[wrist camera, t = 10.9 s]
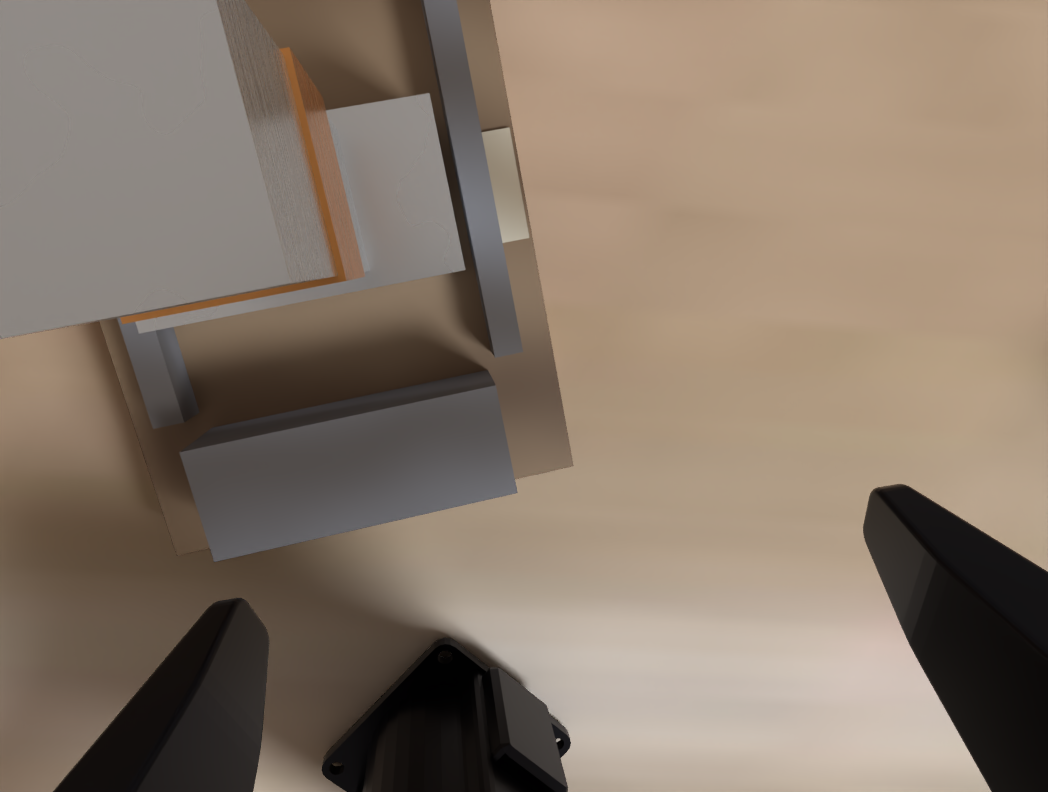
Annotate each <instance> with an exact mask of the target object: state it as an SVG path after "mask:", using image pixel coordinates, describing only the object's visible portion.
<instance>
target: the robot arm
mask: <svg viewBox="0 0 1048 792" xmlns="http://www.w3.org/2000/svg"><path fill="white" fill-rule="evenodd" d="M863 533H864V538H865V542H866V545H867V547H868V549H869V552H870V554H871V556H872V559H873V561H874V563H875V566H876V568H877V571H878V573H879V575H880V578H881V580H882V582H883V585H884V587H885V589H886V592H887V594H888V596H889V599H890V601H891V603H892V606H893V608H894V610H895V613H896V615H897V618H898V620H899V622H900V625H901V627H902V629H903V631H904V634H905V636H906V638H907V640H908V642H909V644H910V646H911V648H912V650H913V652H914V654H915V656H916V658H917V660H918V661H919V663H920V665H921V667H922V669H923V670H924V672H925V674H926V676H927V678H928V679H929V681H930V683H931V685H932V686H933V688H934V690H935V692H936V694H937V695H938V697H939V699H940V701H941V702H942V704H943V706H944V708H945V710H946V711H947V713H948V715H949V717H950V718H951V720H952V722H953V724H954V726H955V727H956V729H957V731H958V733H959V735H960V736H961V738H962V740H963V742H964V743H965V745H966V747H967V749H968V751H969V752H970V754H971V756H972V758H973V759H974V761H975V763H976V765H977V767H978V768H979V770H980V772H981V774H982V775H983V777H984V779H985V781H986V783H987V784H988V786H989V788H990V790H991V791H992V792H1048V572H1047V571H1046V570H1044V569H1043V568H1041V567H1039V566H1038V565H1036V564H1034V563H1033V562H1031V561H1030V560H1028V559H1026V558H1025V557H1023V556H1021V555H1020V554H1018V553H1017V552H1015V551H1013V550H1012V549H1010V548H1008V547H1007V546H1005V545H1004V544H1002V543H1000V542H999V541H997V540H995V539H994V538H992V537H991V536H989V535H987V534H986V533H984V532H982V531H981V530H979V529H978V528H976V527H974V526H973V525H971V524H969V523H968V522H966V521H965V520H963V519H961V518H960V517H958V516H956V515H955V514H953V513H952V512H950V511H948V510H947V509H945V508H943V507H942V506H940V505H939V504H937V503H935V502H934V501H932V500H930V499H929V498H927V497H926V496H924V495H922V494H921V493H919V492H917V491H916V490H914V489H913V488H911V487H909V486H906V485H903V484H896V485H890V486H884V487H878V488H875V489H874V490H873V491H872V492H871V493H870V496H869V501H868V506H867V511H866V515H865V520H864V525H863ZM442 651H449V652H451V655H450V656H448V657H441V656H440V655H439V653H441V652H442ZM268 653H269V636H268V632H267V629H266V627H265V626H264V624H263V623H262V622H261V620H260V619H259V618H258V616H257V615H256V613H255V612H254V611H253V609H252V608H251V606H250V605H249V604H248V602H247V601H246V600H244V599H242V598H234V599H229V600H223V601H218V602H215V603H213V604H212V605H211V606H210V607H209V608H208V609H207V610H206V611H205V612H204V613H203V615H202V616H201V617H200V618H199V619H198V621H197V622H196V623H195V624H194V625H193V627H192V628H191V629H190V630H189V631H188V632H187V634H186V635H185V636H184V637H183V638H182V640H181V641H180V642H179V643H178V644H177V645H176V647H175V648H174V649H173V650H172V651H171V653H170V654H169V655H168V656H167V657H166V658H165V660H164V661H163V662H162V663H161V664H160V666H159V667H158V668H157V669H156V670H155V671H154V673H153V674H152V675H151V676H150V677H149V679H148V680H147V681H146V682H145V683H144V684H143V686H142V687H141V688H140V689H139V690H138V692H137V693H136V694H135V695H134V696H133V698H132V699H131V700H130V701H129V702H128V703H127V705H126V706H125V707H124V708H123V709H122V711H121V712H120V713H119V714H118V715H117V716H116V718H115V719H114V720H113V721H112V722H111V724H110V725H109V726H108V727H107V728H106V729H105V731H104V732H103V733H102V734H101V735H100V737H99V738H98V739H97V740H96V741H95V742H94V744H93V745H92V746H91V747H90V748H89V750H88V751H87V752H86V753H85V754H84V756H83V757H82V758H81V759H80V760H79V761H78V763H77V764H76V765H75V766H74V767H73V769H72V770H71V771H70V772H69V773H68V774H67V776H66V777H65V778H64V779H63V780H62V782H61V783H60V784H59V785H58V786H57V787H56V789H55V790H54V791H53V792H253V789H254V784H255V778H256V773H257V767H258V761H259V755H260V749H261V740H262V730H263V717H264V705H265V692H266V679H267V666H268ZM555 738H560V739H561V740H560V741H559V742H557V743H556V739H555ZM570 744H571V742H570V738H569V734H568V731H567V729H566V728H565V727H564V726H562V725H561V724H560V723H559V722H557V721H556V720H555V719H554V718H552V717H551V716H550V715H549V712H548V708H547V706H546V705H545V704H544V703H543V702H542V701H540V700H539V699H538V698H537V697H535V696H534V695H533V694H532V693H530V692H529V691H528V690H527V689H525V688H524V687H523V686H522V685H520V684H519V683H518V682H516V681H515V680H514V679H513V678H511V677H510V676H509V675H508V674H506V673H505V672H504V671H503V670H501V669H500V668H495V667H490V668H489V667H488V666H486V665H485V664H484V663H483V662H481V661H480V660H479V659H478V658H476V657H475V656H474V655H472V654H471V653H470V652H469V651H467V650H466V649H465V648H464V647H462V646H461V645H460V644H459V643H457V642H456V641H455V640H453V639H451V638H442V639H439V640H437V641H436V642H434V643H433V644H432V645H431V646H430V648H429V649H428V650H427V651H426V652H425V653H424V654H423V655H422V656H421V657H420V658H419V659H418V660H417V661H416V662H415V663H414V664H413V665H412V666H411V667H410V668H409V669H408V670H407V671H406V672H405V673H404V674H403V675H402V676H401V677H400V678H399V679H398V680H397V681H396V682H395V683H394V684H393V685H392V686H391V687H390V689H389V690H388V691H387V692H386V693H385V694H384V695H383V696H382V697H381V698H380V699H379V700H378V701H377V702H376V703H375V704H374V705H373V706H372V707H371V708H370V709H369V710H368V711H367V712H366V713H365V714H364V715H363V716H362V717H361V718H360V719H359V720H358V721H357V722H356V723H355V724H354V725H353V726H352V727H351V728H350V729H349V731H348V732H347V733H346V734H345V735H344V736H343V737H342V738H341V739H340V740H339V741H338V742H337V743H336V744H335V745H334V746H333V747H332V748H331V749H330V750H329V751H328V752H327V753H326V755H325V756H324V761H323V765H322V772H323V775H324V776H325V777H326V778H327V779H329V780H330V781H332V782H333V783H334V784H336V785H337V786H339V787H340V788H342V789H343V790H345V791H346V792H568V786H567V782H566V778H565V774H564V770H563V767H562V763H561V759H560V758H561V757H562V756H563V755H564V754H565V753H566V752H567V751H568V749H569V748H570ZM334 762H340V763H342V764H343V765H341V766H334V765H333V764H332V763H334Z"/></svg>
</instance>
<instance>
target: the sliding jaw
mask: <svg viewBox="0 0 1048 792" xmlns="http://www.w3.org/2000/svg"><path fill="white" fill-rule="evenodd" d="M463 270H465V265H464V260H463V255H462V250H461V245H460V241H459V236H458V231H457V226H456V221H455V216H454V211H453V206H452V201H451V196H450V191H449V187H448V182H447V177H446V172H445V167H444V162H443V157H442V152H441V147H440V142H439V138H438V133H437V128H436V123H435V118H434V113H433V108H432V103H431V98H430V93H426V94H421V95H415V96H409V97H403V98H397V99H391V100H385V101H379V102H373V103H367V104H361V105H355V106H349V107H343V108H338V109H332V110H326V109H325V105H324V101H323V97H322V95H321V94H320V92H319V91H318V89H317V88H316V86H315V85H314V83H313V82H312V80H311V79H310V77H309V76H308V74H307V73H306V71H305V70H304V68H303V67H302V65H301V64H300V62H299V61H298V59H297V58H296V56H295V55H294V53H293V52H292V50H291V49H290V47H287V48H281V49H279V48H278V46H277V45H276V43H275V42H274V41H273V39H272V38H271V37H270V35H269V34H268V32H267V31H266V30H265V28H264V27H263V25H262V24H261V23H260V21H259V20H258V18H257V17H256V16H255V14H254V13H253V11H252V10H251V9H250V7H249V6H248V5H247V3H246V2H245V0H0V339H4V338H10V337H15V336H21V335H27V334H32V333H38V332H43V331H49V330H54V329H60V328H65V327H71V326H76V325H82V324H88V323H93V322H99V321H104V320H110V319H115V318H120V319H121V322H122V324H126V323H131V322H135V323H136V326H137V329H138V332H139V334H140V333H145V332H150V331H155V330H160V329H165V328H171V327H176V326H181V325H186V324H191V323H196V322H201V321H207V320H212V319H217V318H222V317H227V316H232V315H237V314H242V313H248V312H253V311H258V310H263V309H268V308H273V307H278V306H284V305H289V304H294V303H299V302H304V301H309V300H314V299H319V298H325V297H330V296H335V295H340V294H345V293H350V292H355V291H361V290H366V289H371V288H376V287H381V286H386V285H391V284H396V283H402V282H407V281H412V280H417V279H422V278H427V277H432V276H438V275H443V274H448V273H453V272H458V271H463Z"/></svg>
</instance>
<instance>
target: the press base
mask: <svg viewBox="0 0 1048 792" xmlns="http://www.w3.org/2000/svg"><path fill="white" fill-rule="evenodd" d="M245 2H246V3H247V5H248V6H249V7H250V9H251V10H252V11H253V13H254V14H255V16H256V17H257V18H258V20H259V21H260V23H261V24H262V25H263V27H264V28H265V30H266V31H267V32H268V34H269V35H270V37H271V38H272V39H273V41H274V42H275V43H276V45H277V46H278V48H279V49H281V48H287V47H290V49H291V50H292V52H293V53H294V55H295V56H296V58H297V59H298V61H299V62H300V64H301V65H302V67H303V68H304V70H305V71H306V73H307V74H308V76H309V77H310V79H311V80H312V82H313V83H314V85H315V86H316V88H317V89H318V91H319V92H320V94H321V95H322V97H323V101H324V105H325V109H326V110H332V109H338V108H343V107H349V106H355V105H361V104H367V103H373V102H379V101H385V100H391V99H397V98H403V97H409V96H415V95H421V94H426V93H430V98H431V103H432V108H433V113H434V118H435V123H436V128H437V133H438V138H439V142H440V147H441V152H442V157H443V162H444V167H445V172H446V177H447V182H448V187H449V191H450V196H451V201H452V206H453V211H454V216H455V221H456V226H457V231H458V236H459V241H460V245H461V250H462V255H463V260H464V265H465V270H463V271H458V272H453V273H448V274H443V275H438V276H432V277H427V278H422V279H417V280H412V281H407V282H402V283H396V284H391V285H386V286H381V287H376V288H371V289H366V290H361V291H355V292H350V293H345V294H340V295H335V296H330V297H325V298H319V299H314V300H309V301H304V302H299V303H294V304H289V305H284V306H278V307H273V308H268V309H263V310H258V311H253V312H248V313H242V314H237V315H232V316H227V317H222V318H217V319H212V320H207V321H201V322H196V323H191V324H186V325H181V326H176V327H171V328H165V329H160V330H155V331H150V332H145V333H140V334H139V332H138V329H137V326H136V323H135V322H131V323H126V324H122V322H121V319H120V318H115V319H110V320H104V321H99V322H100V325H101V328H102V331H103V334H104V337H105V340H106V343H107V346H108V349H109V352H110V355H111V358H112V361H113V364H114V367H115V370H116V373H117V376H118V379H119V382H120V386H121V389H122V392H123V395H124V398H125V401H126V404H127V407H128V410H129V413H130V416H131V419H132V422H133V425H134V428H135V431H136V434H137V437H138V440H139V443H140V446H141V449H142V452H143V455H144V458H145V461H146V464H147V467H148V470H149V473H150V476H151V479H152V482H153V485H154V488H155V491H156V494H157V497H158V500H159V503H160V506H161V509H162V512H163V515H164V518H165V521H166V524H167V527H168V530H169V533H170V536H171V540H172V543H173V546H174V549H175V552H176V555H177V556H178V555H182V554H187V553H191V552H196V551H200V550H204V549H209V548H210V550H211V554H212V557H213V560H214V562H217V561H221V560H225V559H230V558H234V557H239V556H243V555H247V554H252V553H256V552H260V551H265V550H269V549H274V548H278V547H282V546H287V545H291V544H296V543H300V542H304V541H309V540H313V539H317V538H322V537H326V536H331V535H335V534H339V533H344V532H348V531H353V530H357V529H361V528H366V527H370V526H374V525H379V524H383V523H388V522H392V521H396V520H401V519H405V518H409V517H414V516H418V515H423V514H427V513H431V512H436V511H440V510H445V509H449V508H453V507H458V506H462V505H466V504H471V503H475V502H480V501H484V500H488V499H493V498H497V497H502V496H506V495H510V494H515V493H517V488H516V483H515V479H518V478H523V477H527V476H532V475H536V474H540V473H545V472H549V471H554V470H558V469H563V468H567V467H571V466H573V461H572V455H571V449H570V444H569V438H568V433H567V427H566V422H565V416H564V411H563V405H562V399H561V394H560V388H559V383H558V377H557V372H556V366H555V361H554V355H553V349H552V344H551V338H550V333H549V327H548V322H547V316H546V311H545V305H544V299H543V294H542V288H541V283H540V277H539V272H538V266H537V260H536V255H535V249H534V244H533V238H532V233H531V227H530V222H529V216H528V210H527V205H526V199H525V194H524V188H523V183H522V177H521V172H520V166H519V160H518V155H517V149H516V144H515V138H514V133H513V127H512V121H511V116H510V110H509V105H508V99H507V94H506V88H505V83H504V77H503V71H502V66H501V60H500V55H499V49H498V44H497V38H496V33H495V27H494V21H493V16H492V10H491V5H490V0H245Z"/></svg>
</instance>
